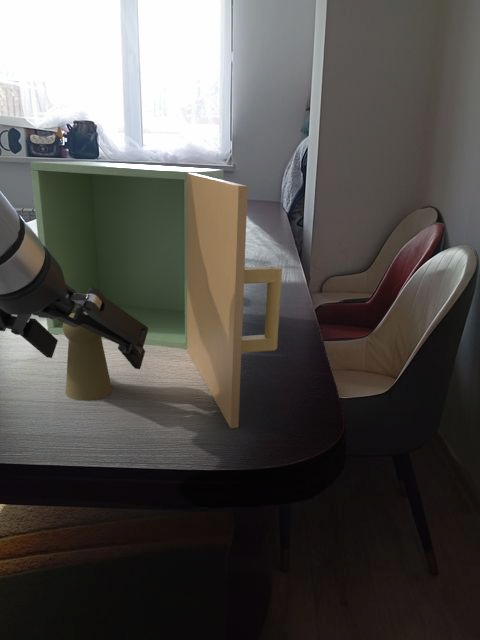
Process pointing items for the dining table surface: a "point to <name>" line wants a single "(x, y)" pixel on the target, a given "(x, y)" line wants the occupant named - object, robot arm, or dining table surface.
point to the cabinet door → (223, 288)
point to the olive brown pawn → (85, 365)
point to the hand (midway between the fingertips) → (95, 354)
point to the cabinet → (120, 237)
